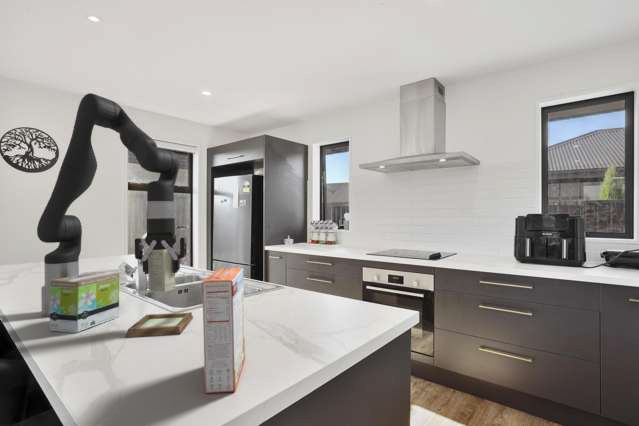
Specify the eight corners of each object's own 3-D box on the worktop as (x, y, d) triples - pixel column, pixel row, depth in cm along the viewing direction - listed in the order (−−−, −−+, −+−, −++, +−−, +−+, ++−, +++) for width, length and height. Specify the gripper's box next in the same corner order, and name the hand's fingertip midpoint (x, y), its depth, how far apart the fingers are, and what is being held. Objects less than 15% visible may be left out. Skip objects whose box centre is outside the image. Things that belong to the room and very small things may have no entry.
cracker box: (218, 361, 74) (217, 267, 74) (246, 359, 75) (245, 267, 75) (201, 395, 60) (200, 280, 60) (235, 393, 61) (234, 279, 61)
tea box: (78, 333, 93) (77, 280, 93) (48, 331, 95) (48, 279, 95) (120, 317, 107) (120, 271, 107) (94, 315, 109) (94, 270, 109)
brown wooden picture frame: (126, 337, 89) (126, 329, 89) (146, 320, 103) (146, 314, 103) (180, 334, 91) (180, 326, 91) (193, 318, 105) (192, 312, 105)
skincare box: (175, 289, 98) (175, 248, 98) (164, 292, 94) (163, 249, 94) (159, 288, 100) (158, 247, 100) (147, 291, 96) (146, 249, 96)
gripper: (189, 216, 102) (190, 270, 102) (140, 217, 100) (140, 271, 100) (182, 216, 95) (183, 274, 95) (129, 217, 93) (129, 276, 93)
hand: (161, 273), depth 97 cm, fingers closed on skincare box, 7 cm apart
